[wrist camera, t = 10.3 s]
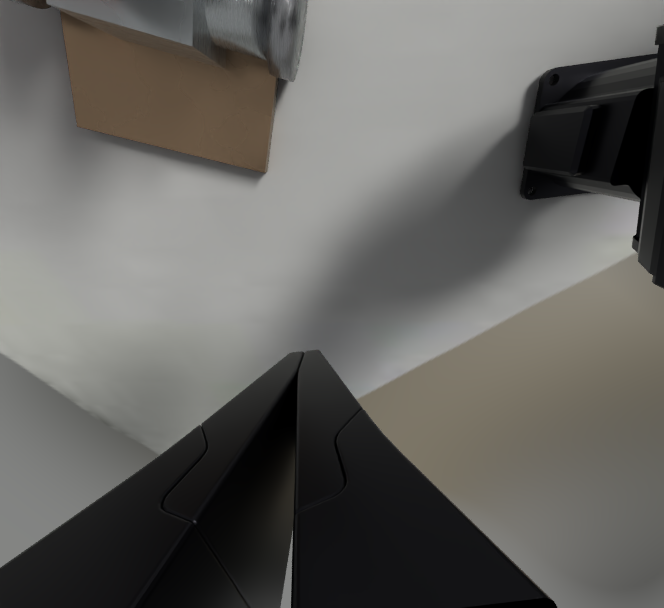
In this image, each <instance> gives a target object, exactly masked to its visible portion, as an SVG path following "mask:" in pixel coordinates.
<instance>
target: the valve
mask: <svg viewBox="0 0 664 608" xmlns="http://www.w3.org/2000/svg"><path fill="white" fill-rule="evenodd" d="M11 1H14V2H18V3H21V4H25V5H28V6H32V7H35V8H40V9H46V8H49V7H51V6H52V7H54V8H56V9H58V10H60V14H61V20H62V27H63V34H64V41H65V47H66V54H67V61H68V68H69V74H70V81H71V88H72V95H73V101H74V108H75V115H76V122H77V127H81V128H85V129H89V130H93V131H98V132H102V133H106V134H110V135H114V136H118V137H122V138H126V139H130V140H134V141H138V142H142V143H146V144H150V145H154V146H158V147H162V148H166V149H170V150H174V151H178V152H182V153H186V154H190V155H194V156H198V157H203V158H207V159H211V160H215V161H219V162H223V163H227V164H231V165H235V166H239V167H243V168H247V169H251V170H255V171H259V172H263V173H266V172H267V170H268V162H269V153H270V145H271V137H272V129H273V120H274V112H275V104H276V96H277V87H278V79H279V78H281V79H284V80H288V81H291V82H294V80H295V77H296V74H297V70H298V66H299V61H300V56H301V50H302V44H303V37H304V30H305V23H306V14H307V5H308V0H11Z"/></svg>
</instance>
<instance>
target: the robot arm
mask: <svg viewBox="0 0 664 608" xmlns="http://www.w3.org/2000/svg"><path fill="white" fill-rule="evenodd" d="M655 45H659V48H658V53H657V54H650V55H643V56H636V57H629V58H622V59H615V60H608V61H600V62H593V63H586V64H579V65H572V66H565V67H558V68H554V69H551V70H548V71H546V72H545V73H544V74H543V76H542V77H541V79H540V82H539V88H538V93H537V99H536V105H535V110H534V115H533V116H532V118H531V121H530V127H529V133H528V138H527V144H526V150H525V156H524V161H523V166H524V173H523V178H522V184H521V190H520V195H521V197H522V198H524V199H528V200H533V199H541V198H549V197H557V196H566V195H574V194H582V193H590V192H594V193H599V194H604V195H609V196H613V197H618V198H623V199H628V200H633V201H638V202H640V207H639V216H638V224H637V233H636V235H635V236H633V242H632V248H633V249H634V250H635V251H636V252H638V262H639V263H640V264H641V265H642V266H643V267H644V268H645V269H646V270H647V271H648V272H649V273H650V274H652V275H653V279H652V282H653V283H654V284H655V285H657V286H659V287H661V288H663V289H664V24H663V25H661V26H658V27H657V32H656V40H655ZM552 75H553V77H554V82H553V84H552V85H550V84H549V79H550V77H551V76H552ZM531 187H533V190H532V192H531V193H530V194H528V191H529V189H530V188H531ZM201 426H202V427H201ZM201 426H200V425H199V426H197V427H196V428H195V429H194V430H192V431H191V432H190V433H189V434H187V435H186V436H185V437H183V438H182V439H181V440H180V441H178V442H177V443H176V444H174V445H173V446H172V447H170V448H169V449H168V450H167V451H165V452H164V453H163V454H161V455H160V456H159V457H157V458H156V459H155V460H153V461H152V462H150V463H149V464H147V465H146V466H145V467H143V468H142V469H140V470H139V471H138V472H136V473H135V474H134V475H132V476H131V477H129V478H128V479H126V480H125V481H124V482H122V483H121V484H119V485H118V486H116V487H115V488H114V489H112V490H111V491H109V492H108V493H106V494H105V495H104V496H102V497H101V498H99V499H98V500H96V501H95V502H94V503H92V504H91V505H89V506H88V507H86V508H85V509H84V510H82V511H81V512H79V513H78V514H76V515H75V516H74V517H72V518H71V519H69V520H68V521H67V522H65V523H64V524H62V525H61V526H59V527H58V528H56V529H55V530H54V531H52V532H51V533H49V534H48V535H46V536H45V537H44V538H42V539H41V540H39V541H38V542H36V543H35V544H34V545H32V546H31V547H29V548H28V549H26V550H25V551H24V552H22V553H21V554H19V555H18V556H16V557H15V558H14V559H12V560H11V561H9V562H8V563H6V564H5V565H4V566H2V567H1V568H0V608H280V606H281V599H282V594H283V587H284V581H285V575H286V568H287V562H288V556H289V549H290V543H291V537H292V531H293V552H292V591H291V592H292V593H291V608H557V606H556V604H555V603H554V601H553V600H552V599H551V598H550V597H548V595H547V594H546V593H545V592H544V591H543V590H542V589H540V587H538V586H537V585H536V584H535V583H534V582H533V581H532V580H531V579H530V578H529V577H528V576H527V575H526V574H525V573H524V572H523V571H522V570H521V569H520V568H519V567H518V566H517V565H516V564H515V563H514V562H513V561H512V560H511V559H510V558H509V557H508V556H507V555H506V554H505V553H504V552H503V551H502V550H500V548H499V547H498V546H496V545H495V544H494V543H493V542H492V541H491V540H490V539H489V538H488V537H487V536H486V535H485V534H484V533H483V532H482V531H481V530H480V529H479V528H478V527H477V526H476V525H475V524H474V523H473V522H472V521H471V520H470V519H469V518H468V517H467V516H466V515H465V514H464V513H463V512H462V511H461V510H460V509H459V508H458V507H457V506H456V505H454V504H453V503H452V502H451V501H450V500H449V499H448V498H447V497H446V496H445V495H444V494H443V493H442V492H441V491H440V490H439V489H438V488H437V487H436V486H435V485H434V484H433V483H432V482H431V481H430V480H429V479H428V478H427V477H426V476H425V475H424V474H423V473H422V472H421V471H420V470H419V469H418V468H417V467H416V466H415V465H413V463H411V462H410V461H409V460H408V459H407V458H406V457H405V456H404V455H403V454H402V453H401V452H400V451H399V450H398V449H397V448H396V447H395V446H394V445H393V443H392V442H391V441H390V440H389V439H388V438H387V437H386V436H385V435H384V434H383V433H382V432H381V430H380V429H379V428H378V427H377V426H376V424H375V423H374V422H373V421H372V419H371V418H370V417H369V415H368V414H367V413H366V411H365V410H363V408H362V407H361V406H360V404H359V403H358V401H357V400H356V399H355V397H354V396H353V395H352V393H351V392H350V391H349V389H348V388H347V387H346V385H345V384H344V383H343V381H342V380H341V379H340V377H339V376H338V375H337V373H336V372H335V371H334V369H333V368H332V367H331V365H330V364H329V363H328V361H327V360H326V359H325V357H324V356H323V355H322V353H321V352H320V351H319V350H311V351H306V352H305V353H304V352H292V353H289V354H288V355H287V356H286V357H284V358H283V359H282V360H281V361H279V362H278V363H277V364H276V365H274V366H273V367H272V368H271V369H269V370H268V371H267V372H266V373H264V374H263V375H262V376H261V377H259V378H258V379H257V380H256V381H254V382H253V383H252V384H251V385H249V386H248V387H247V388H246V389H244V390H243V391H242V392H241V393H239V394H238V395H237V396H236V397H234V398H233V399H232V400H231V401H229V402H228V403H227V404H226V405H224V406H223V407H222V408H221V409H219V410H218V411H217V412H216V413H214V414H213V415H212V416H211V417H209V418H208V419H207V420H206V421H204V422H203V423H202V425H201Z"/></svg>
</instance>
